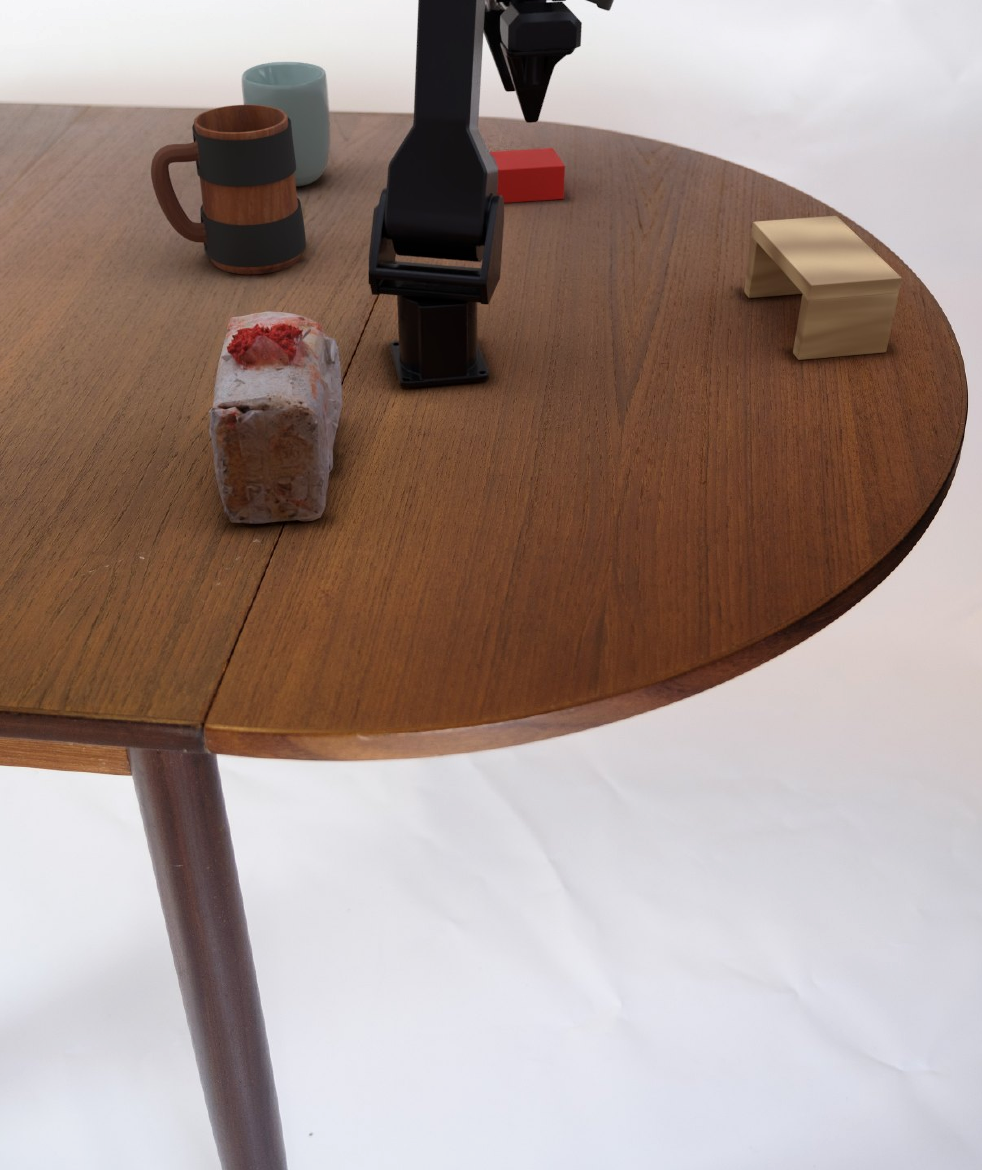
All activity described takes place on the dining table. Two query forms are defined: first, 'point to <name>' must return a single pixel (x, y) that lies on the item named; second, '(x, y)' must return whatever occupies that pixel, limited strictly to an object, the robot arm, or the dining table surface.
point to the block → (529, 175)
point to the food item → (275, 417)
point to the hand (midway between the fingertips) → (520, 106)
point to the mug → (239, 189)
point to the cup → (296, 109)
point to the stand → (825, 284)
